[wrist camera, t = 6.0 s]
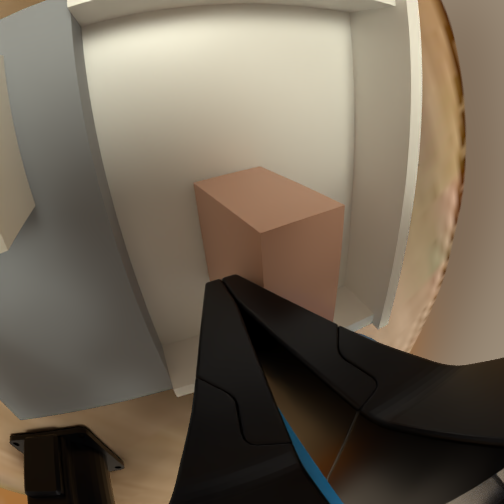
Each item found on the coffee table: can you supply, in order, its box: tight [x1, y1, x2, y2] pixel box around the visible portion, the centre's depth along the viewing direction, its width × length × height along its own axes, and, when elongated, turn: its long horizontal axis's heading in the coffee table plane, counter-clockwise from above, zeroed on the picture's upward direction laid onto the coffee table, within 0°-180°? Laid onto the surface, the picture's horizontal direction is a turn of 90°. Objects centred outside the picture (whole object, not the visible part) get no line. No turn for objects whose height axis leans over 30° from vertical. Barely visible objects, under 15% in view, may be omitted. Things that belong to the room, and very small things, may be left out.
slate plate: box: [0, 0, 173, 420], centre depth 8 cm, size 14×8×2 cm, turn 5°
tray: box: [67, 0, 422, 397], centre depth 10 cm, size 14×10×4 cm
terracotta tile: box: [193, 166, 345, 322], centre depth 10 cm, size 4×4×2 cm
